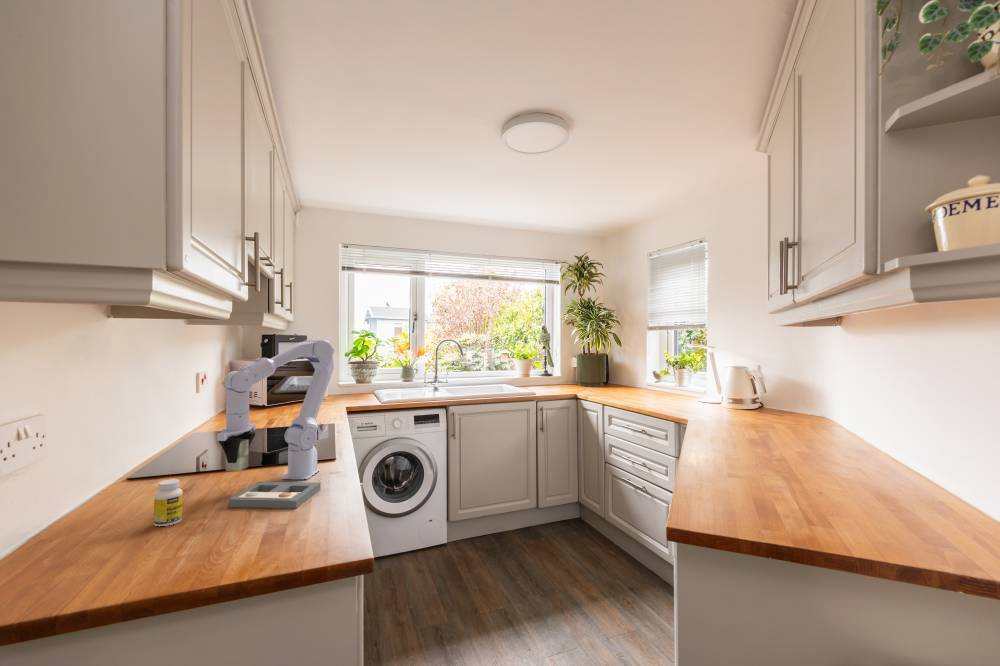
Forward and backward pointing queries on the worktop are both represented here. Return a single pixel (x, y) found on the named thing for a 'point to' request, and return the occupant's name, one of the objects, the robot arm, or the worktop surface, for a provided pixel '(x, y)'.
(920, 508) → the worktop surface
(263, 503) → the board
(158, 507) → the supplement bottle
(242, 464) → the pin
